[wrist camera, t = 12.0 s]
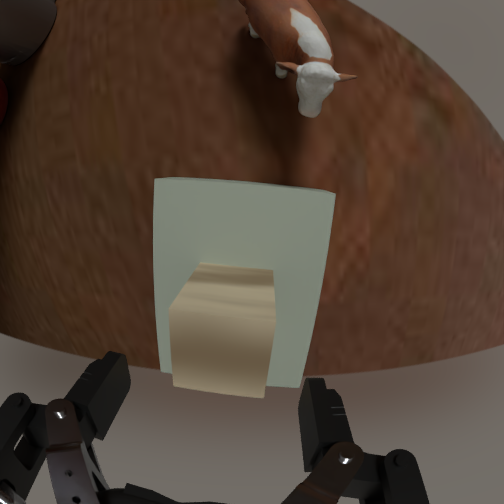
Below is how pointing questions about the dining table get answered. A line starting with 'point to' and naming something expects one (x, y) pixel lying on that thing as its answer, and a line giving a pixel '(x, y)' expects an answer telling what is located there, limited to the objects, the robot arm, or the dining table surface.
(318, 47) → the bull figurine
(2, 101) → the apple
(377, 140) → the dining table surface
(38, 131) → the dining table surface
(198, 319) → the maple block
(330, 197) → the plinth
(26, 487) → the robot arm
